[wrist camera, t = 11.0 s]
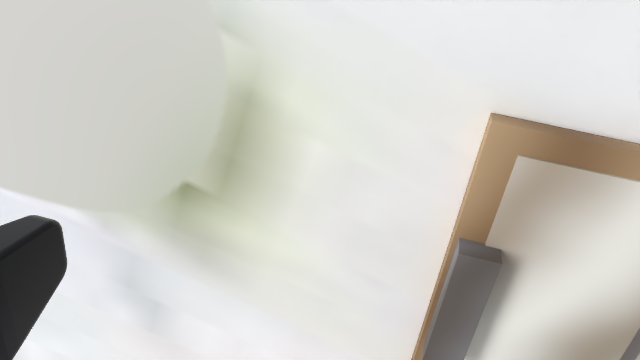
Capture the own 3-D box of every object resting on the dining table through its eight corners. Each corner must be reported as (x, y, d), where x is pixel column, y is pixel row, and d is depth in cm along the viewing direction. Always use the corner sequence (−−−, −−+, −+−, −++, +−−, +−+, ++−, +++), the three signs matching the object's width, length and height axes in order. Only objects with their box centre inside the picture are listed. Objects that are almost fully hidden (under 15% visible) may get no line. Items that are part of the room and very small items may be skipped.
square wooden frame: (1006, 221, 17) (1053, 255, 16) (736, 493, 26) (751, 530, 25) (491, 112, 19) (492, 134, 18) (398, 398, 28) (394, 428, 27)
